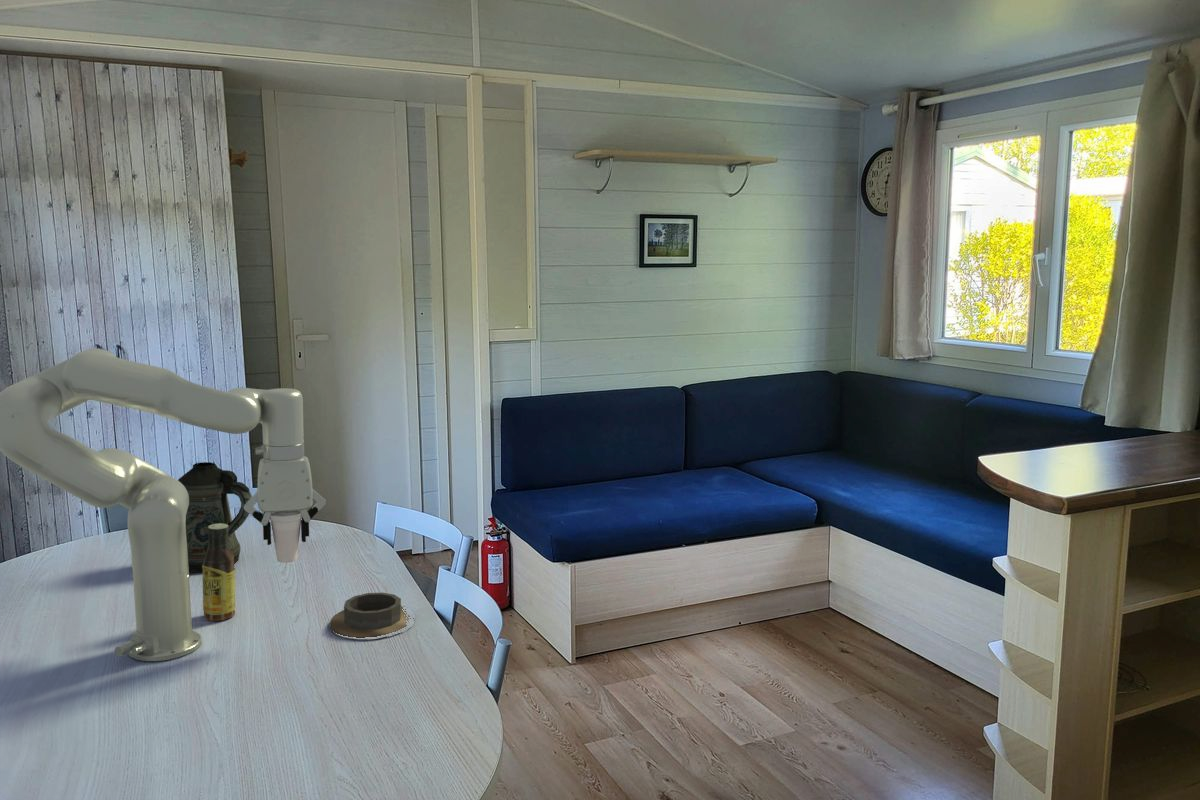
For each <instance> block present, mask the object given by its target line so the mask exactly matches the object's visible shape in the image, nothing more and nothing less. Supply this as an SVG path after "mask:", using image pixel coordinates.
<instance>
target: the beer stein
mask: <svg viewBox="0 0 1200 800" xmlns="http://www.w3.org/2000/svg"><path fill="white" fill-rule="evenodd" d="M177 480H178V481H179V482H180V483H182V484H183V486H184V487H185V488H186V490H187V492H188V495H189V506H188V509H187V514H186V538H187V550H188V566H189V574H202V565H203V562H204V558H205V555H206V552H207V549H208V544H209V538H208V537H209V535H208V533H207V529H208V526H210V525H212V524H219V523H222V524H227V525H228V526H229V532H228V546H229V549H230V550H231V552H232V553H233V555H234V564H235V563H236V562H237V561H238V560H239V559H240V553H241V545H240V542H239V541H238V539H237V536H236V531H237V530H238V529H239V528H240V527H241V526H242V525H243V524H244V523H245V522H246V520H247V518H249V516H250V514H249V513H248V512H247V511H245V510H244V505H245V504H246V503H247V502H248V501H249V500H250V499H251V497H252V496H253V495H252V492H250V488H249V487H248V486H247V485H246V484H245V483H244V482H241V481H238V476H237V475H236V473H235V472H234V471H232V470H225V469H221V468H219V467H218V466H217V464H216V463H215V462H206V461H204V462H196V463H194V464H193V465H192V467H191V469H189V470H188V471H187V472H185V473H184V474H183V475H182V476H181V477H180V478H178V479H177ZM228 495H235V496H236V497H238V498H239V501H240V508H239V510H238V512H237V514H236V516H234V518H233V517H232V514H231V508H230V503H229V497H228ZM238 562H239V561H238ZM238 562H237V563H238ZM237 563H236V564H237ZM236 564H235V565H236Z"/></svg>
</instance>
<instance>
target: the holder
mask: <svg viewBox="0 0 1200 800" xmlns="http://www.w3.org/2000/svg"><path fill="white" fill-rule="evenodd" d="M402 606H403V607H405V605H402V598H400V597H399V596H397V595H396V594H394V593H387V592H383V591H382V592H368V593H367V592H366V593H362V594H357V595H353V596H352V597H350V598H348V599H347V600H345V602H344V605H343V609H342V610H340V611H339V612H337V613H335V614H334V615H333V616H332V617H331V619H330V621H329V622H330V623H329V624H330V625H329V626H331V627H330V630H331V629H332V630H333V631H334V632H335V633H337V634H340V635H343V636H348V637H356V638H365V637H377V636H381V635H386V634H389V633H392V632H396V631H398V630H400V629H402V628H404V627H406V626H407V625H406V623H407V622H406V620H407V621H408V620H409V618H408V617H410V616H409V615H408V617H407V616H406V614H407V613H406V614H405V613H404V612H406V611H404V612H403V610H404V609H403V607H402ZM402 609H403V610H402ZM405 610H406V609H405ZM404 615H405V616H404ZM406 617H407V619H406ZM410 619H411V618H410ZM413 619H414V618H413ZM404 621H405V622H404ZM408 622H409V621H408Z"/></svg>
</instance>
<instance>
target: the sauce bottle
mask: <svg viewBox="0 0 1200 800" xmlns="http://www.w3.org/2000/svg"><path fill="white" fill-rule="evenodd" d="M228 532H229V526H228V525H227V524H222V523H219V524H212V525H210V526H208V529H207V533H208V535H209V537H208V538H209V544H208V549H207V552H206V555H205V558H204V562H203V565H202V573H201V574H202V611H203V617H204V619H205V620H206V621H209V622H222V621H225V620H228V619H232V618H233V617H234V616H235V614H236V568H235V565H234V555H233V553H232V552H231V550H230V549H229V546H228Z"/></svg>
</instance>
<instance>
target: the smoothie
mask: <svg viewBox="0 0 1200 800" xmlns="http://www.w3.org/2000/svg"><path fill="white" fill-rule="evenodd" d="M301 520H302V514H301V512H300V510H297V511H283V512H272V513H271V516H270V519H269V521H270V522H271V532H272V536H273V542H274V549H275V554H276V561H277V562H278V563H282V564H283V563H285V564H287V563H292V562H296V561H297V559H298V552H299V551H298V550H299V545H300V543H299V542H300V536H301V535H300V534H301Z"/></svg>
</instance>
